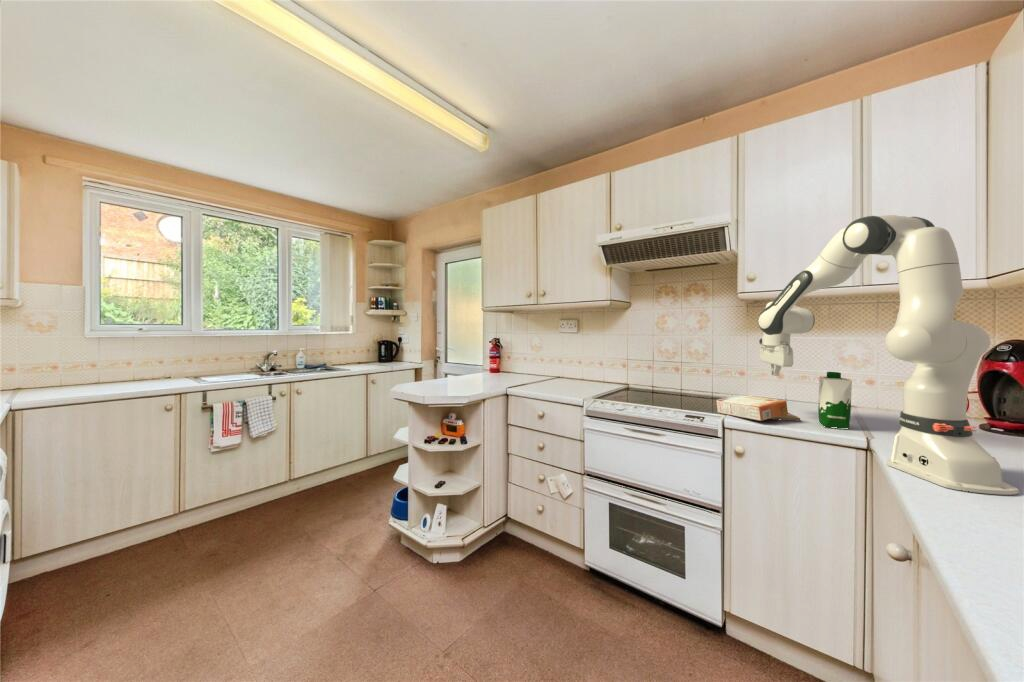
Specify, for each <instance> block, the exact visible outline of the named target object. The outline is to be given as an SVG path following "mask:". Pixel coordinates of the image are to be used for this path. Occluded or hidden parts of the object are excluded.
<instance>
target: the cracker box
mask: <svg viewBox="0 0 1024 682" xmlns="http://www.w3.org/2000/svg"><path fill="white" fill-rule="evenodd" d="M715 400H716V407H717V408H716V409H717V413H719V414H724V415H729V416H734V417H739V418H743V419H749V420H753V421H754V420H755V421H758V422H759V421H760V422H763V421H766V420H767V419H771V418H775V417H779V416H783V415H788V413H789V411H788V404H787V400H783V399H777V398H776V399H775V398H767V397H760V396H754V395H753V396H752V395H746V394H739V395H734V396H729V397H725V398H720V399H715ZM767 421H768V420H767Z"/></svg>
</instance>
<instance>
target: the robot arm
mask: <svg viewBox="0 0 1024 682" xmlns="http://www.w3.org/2000/svg"><path fill="white" fill-rule="evenodd" d="M869 255H876V256H877V255H878V256H892V257H893V258H894V260H895V263H896V272H897V274H896V275H897V283H898V291H899V292H898V293H899V307H898V312H897V316H896V320H895V324H894V326H893V327H892V329H891V330H889V332H888V333H887V335H886V336H885V340H884V344H885V348H886V350H887V352H888V353H889V355H891V356H892V357H894V358H895V359H898V360H900V361H904V362H908V363H912V364H916V365H915V368H914V370H913V372H912V374H911V376H910V377H909V378H907V380H906V381H905V382H904V385H903V393H902V394H903V396H902V397H903V398H902V400H903V401H902V411H900V413H899V418H898V419H899V425H900V429H899V431H898V432H897V433H896V434H895V436H894V440H893V446H892V451H891V456H890V459H887V460H886V465H887V466H888V467H892V468H894V469H897V470H899V471H903V472H904V473H906V474H909V475H912V476H915V477H918V478H920V479H923V480H925V481H927V482H930V483H933V484H935V485H938V486H940V487H943V488H946V489H952V490H957V491H961V490H962V491H963V492H968V491H969V493H979V494H986V495H988V494H989V495H1001V496H1002V495H1005V496H1008V495H1009V496H1012V495H1018V494H1019V493H1020V490H1019V488H1017V487H1015V486H1013V485H1011V484H1009V483H1008V482H1005V481H1003V478H1002V467H1001V465H1000V463H999V461H997V458H995V457H994V456H992V455H991V454H990V453H989V452H988V451H987V450H986V449H985V448H984V447H983V446H982V445H981V444H979V442H977V441H976V440H975V439H974V437H973V432H977V430H975V429H977V428H978V427H977V426H971V425H970V422H969V420H968V419H967V405H968V396H969V393H968V392H969V387H970V384H971V381H972V379H973V376H974V374H975V370H976V369H977V366H978V364H979V361H980V360H981V357H982V356H983V355H984V354H985V353H986V352H987V351H988V350H989V348H990V346H991V337H990V335H989V334H988V332H986V330H985V329H984V328H981V327H980V326H978V325H974V324H972V323H969V322H964V321H960V320H959V321H958V320H954V318H955V317H954V315H955V311H956V308H957V305H958V302H959V301H960V300H961V299H962V297H963V296H964V287H963V280H962V273H961V266H960V261H959V256H958V251H957V247H956V246H955V243H954V240H953V238H952V236H951V234H950V232H949V231H948V230H947V229H945V228H942V227H940V226H939V227H938V226H935V224H933V223H932V221H930V220H928V219H926V218H923V217H920V216H919V217H918V216H906V215H905V216H903V215H895V214H893V215H892V214H890V215H886V214H885V215H870V216H869V215H868V216H863V217H860V218H857V219H855V220H853V221H851V222H850V223H849V224H848V225H847V226H845V227H843V228H841V229H840V230H839V231H837V233H835V235H834V236H833V237H831V239H830V240H829V241H828V242H827V244H826V245H825V246H824V247H823V249H822V251H821V252H820V253H819V254H818V256H817V257H816V258H815V259H814V260H813V261H812V263H810V265H808V266H807V267H806V268H805V269H804V270H802V271H801V272H799V273H798V274H796V275H795V276H794V277H793V278H792V279H791V280H790V281H789V283H787V285H786V286H785V287H784V288H783V289H782V291H781V292H780V293H779V294H778V296H776V297H775V299H774V300H771V301H769V302H768V303H766V305H765V308H764V309H763V310H762V311H761V313H760V314H759V316H758V318H757V326H758V327H759V329H760V330H761V331H762V333H763V335H762V337H761V338H759V339H758V344H759V360H760V362H763V363H767V364H769V368H770V369H769V370H770V375H771V376H774V377H779V376H780V372H781V369H782V368H784V367H785V368H792V367H793V365H794V351H793V348H792V347H791V334H792V335H793V334H794V335H795V334H798V335H799V334H806V333H808V332H810V331H812V329H813V328H814V325H815V322H816V319H815V315H814V313H813V311H811V309H808V308H805V307H804V308H803V307H800V306H798V305H796V304H797V303H798V302H799V301H800V300H801V299H802V298H804V297H805V296H806V295H808V294H810V293H812V292H816V291H818V290H821V289H825V288H831V287H834V286H838V285H840V284H843V283H845V282H846V281H847V280H848V279H850V278H851V276H853V274H854V273H855V272H856V271H857V269H858V268H859V267H860V265H861V264H862V263H863V261H864V260H865V259H866V258H867V257H868V256H869ZM962 491H961V492H962Z"/></svg>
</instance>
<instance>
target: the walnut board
mask: <svg viewBox="0 0 1024 682" xmlns="http://www.w3.org/2000/svg"><path fill="white" fill-rule="evenodd" d="M771 419H781V420H780V421H785V420H800V421H801V418H800V417H799V416H796V415H794V414H792V413H790V412H788V415H783V416H779V417H775V418H771Z"/></svg>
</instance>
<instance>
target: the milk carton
mask: <svg viewBox="0 0 1024 682" xmlns="http://www.w3.org/2000/svg"><path fill="white" fill-rule="evenodd" d="M818 386H819V387H818V389H819V390H818V410H817V411H818V423H819V422H820V423H821V424H822V425H823V426H825V427H837V428H848V429H849V430H850V423H851V414H852V413H851V411H852V410H851V409H852V389H853V388H852V386H853V381H852V380H851V379H848V378H847V377H842V373H841V372H840V371H826V376H819V385H818ZM820 423H819V424H820ZM821 424H820V425H821ZM822 425H821V426H822ZM823 426H822V427H823Z"/></svg>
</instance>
